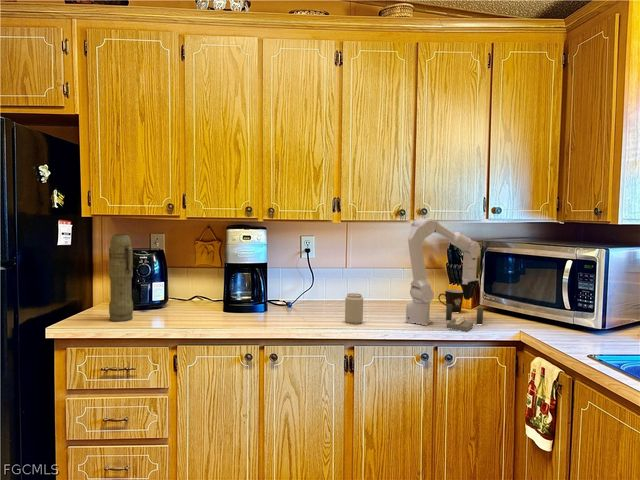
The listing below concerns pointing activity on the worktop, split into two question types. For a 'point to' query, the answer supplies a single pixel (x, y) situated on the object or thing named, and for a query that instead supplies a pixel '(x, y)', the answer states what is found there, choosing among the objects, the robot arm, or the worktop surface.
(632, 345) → the worktop surface
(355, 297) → the can
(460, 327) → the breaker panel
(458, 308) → the coffee mug
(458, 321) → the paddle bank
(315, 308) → the worktop surface
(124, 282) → the thermos
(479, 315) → the post
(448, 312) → the post
